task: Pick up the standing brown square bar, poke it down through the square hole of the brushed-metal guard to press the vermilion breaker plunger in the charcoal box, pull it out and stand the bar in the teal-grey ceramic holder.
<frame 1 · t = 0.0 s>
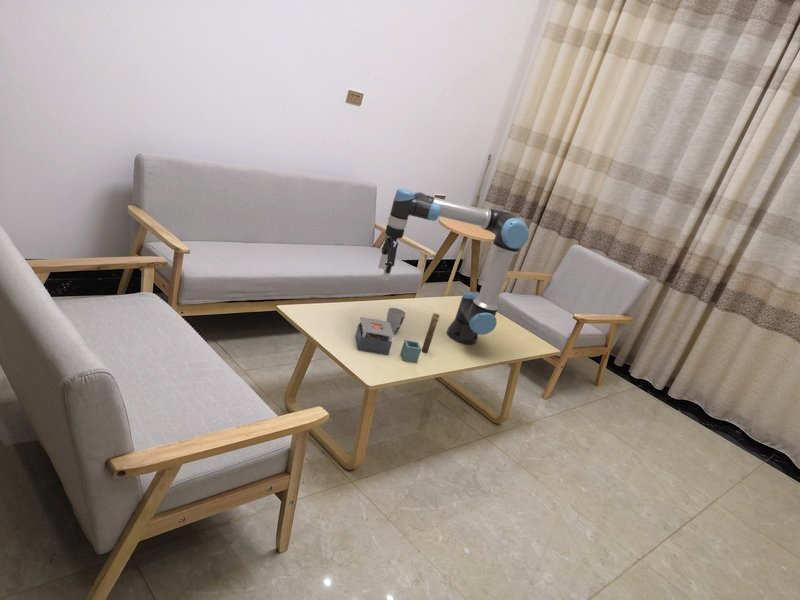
hand: (382, 273, 231), 28 cm above the table, fingers open, 13 cm apart
cup: (391, 331, 248), on the table
breaker box: (371, 345, 229), on the table
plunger: (375, 330, 226), point 7 cm above the table, slide at 0.0 cm
brown square bar: (424, 351, 238), on the table
holder: (408, 358, 227), on the table
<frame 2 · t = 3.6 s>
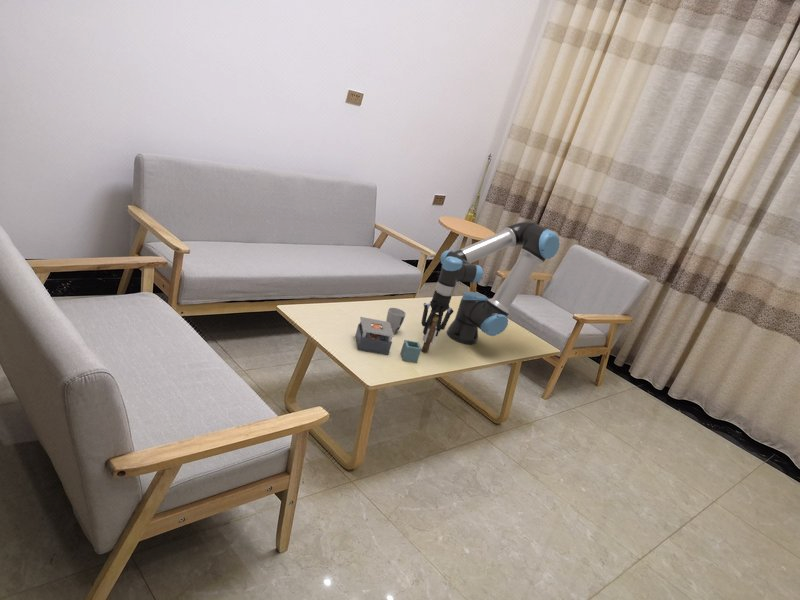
hand: (427, 341, 236), 5 cm above the table, fingers closed on brown square bar, 3 cm apart
brown square bar: (424, 351, 238), on the table, touching gripper
everything else where it was.
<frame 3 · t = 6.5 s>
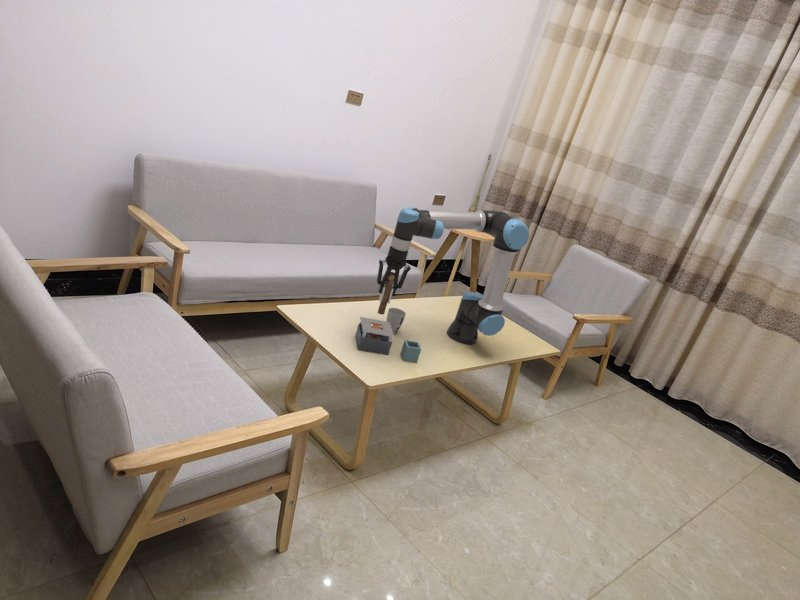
hand: (384, 301, 222), 21 cm above the table, fingers closed on brown square bar, 3 cm apart
brown square bar: (380, 313, 224), point 15 cm above the table, touching gripper
everything else where it was.
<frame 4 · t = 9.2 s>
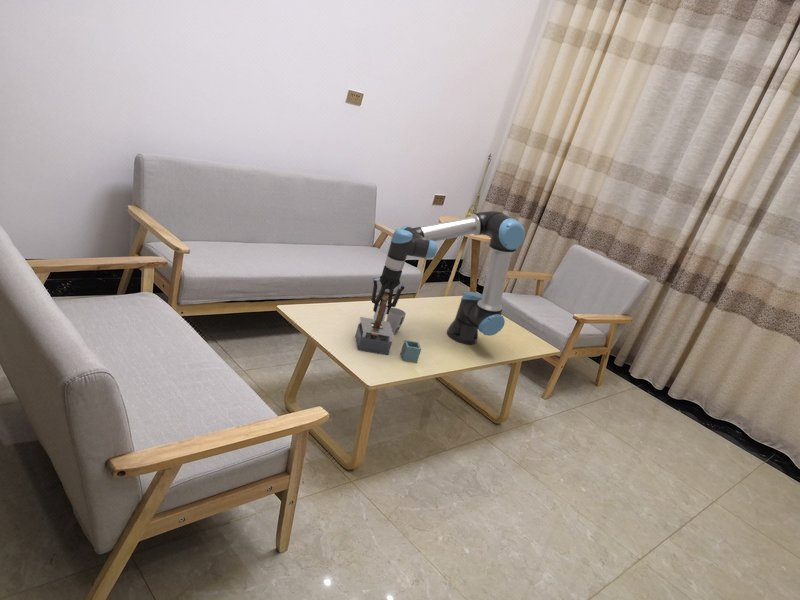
hand: (378, 319, 225), 12 cm above the table, fingers closed on brown square bar, 3 cm apart
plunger: (374, 335, 227), point 5 cm above the table, slide at 2.5 cm, touching brown square bar
brown square bar: (375, 331, 227), point 7 cm above the table, touching gripper, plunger
everything else where it was.
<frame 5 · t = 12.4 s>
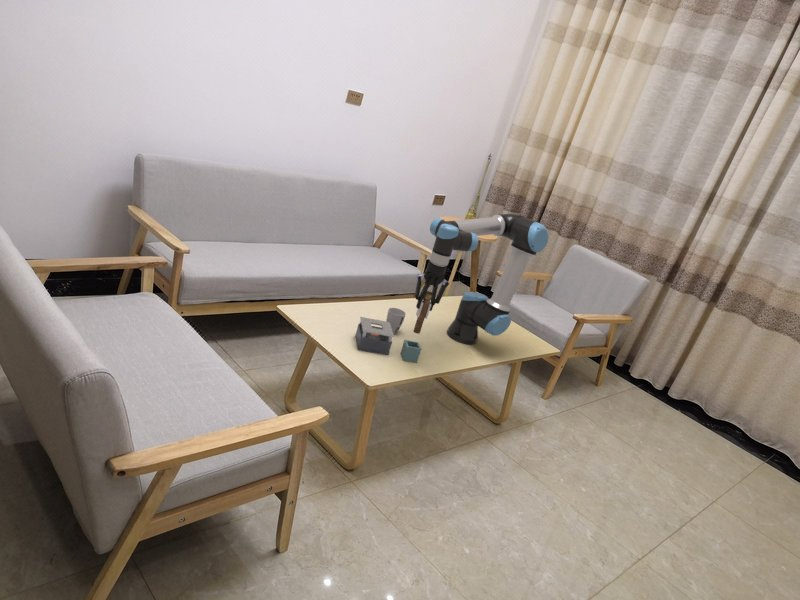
hand: (421, 316, 220), 20 cm above the table, fingers closed on brown square bar, 3 cm apart
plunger: (374, 335, 227), point 5 cm above the table, slide at 2.5 cm
brown square bar: (416, 332, 223), point 12 cm above the table, touching gripper
everything else where it was.
when the fingers open (8 cm above the table, at t = 14.6 s): brown square bar stays where it is, resting on holder.
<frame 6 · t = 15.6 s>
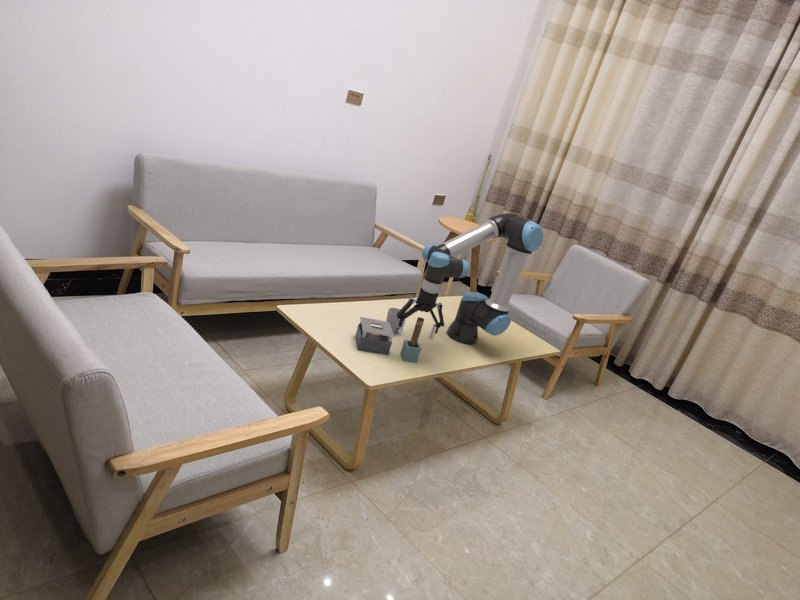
hand: (415, 336, 224), 10 cm above the table, fingers open, 13 cm apart
brown square bar: (409, 356, 227), point 1 cm above the table, touching holder
everything else where it was.
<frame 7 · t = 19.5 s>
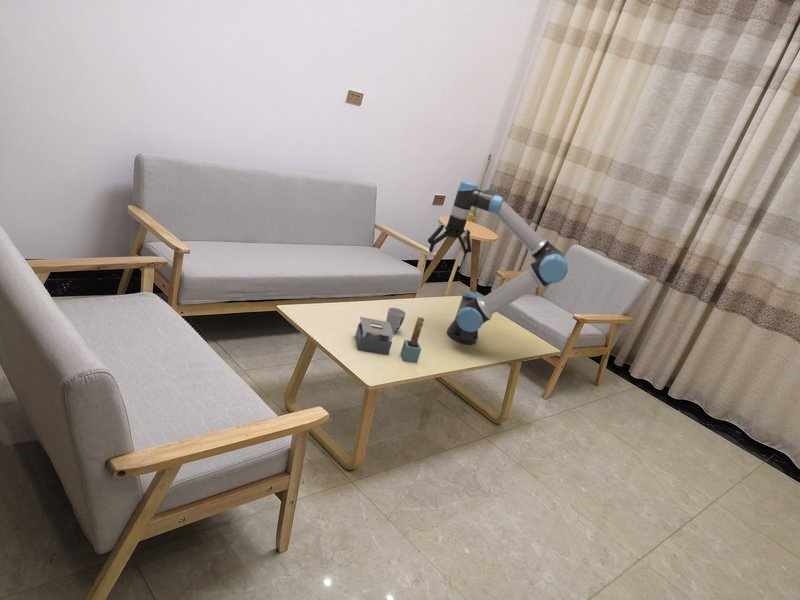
hand: (444, 262, 241), 37 cm above the table, fingers open, 13 cm apart
nothing on the table moved.
at the end: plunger slide at 2.5 cm; brown square bar 0.0 cm off-centre on the holder, point 0.6 cm above the holder's base; the gripper is holding nothing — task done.
